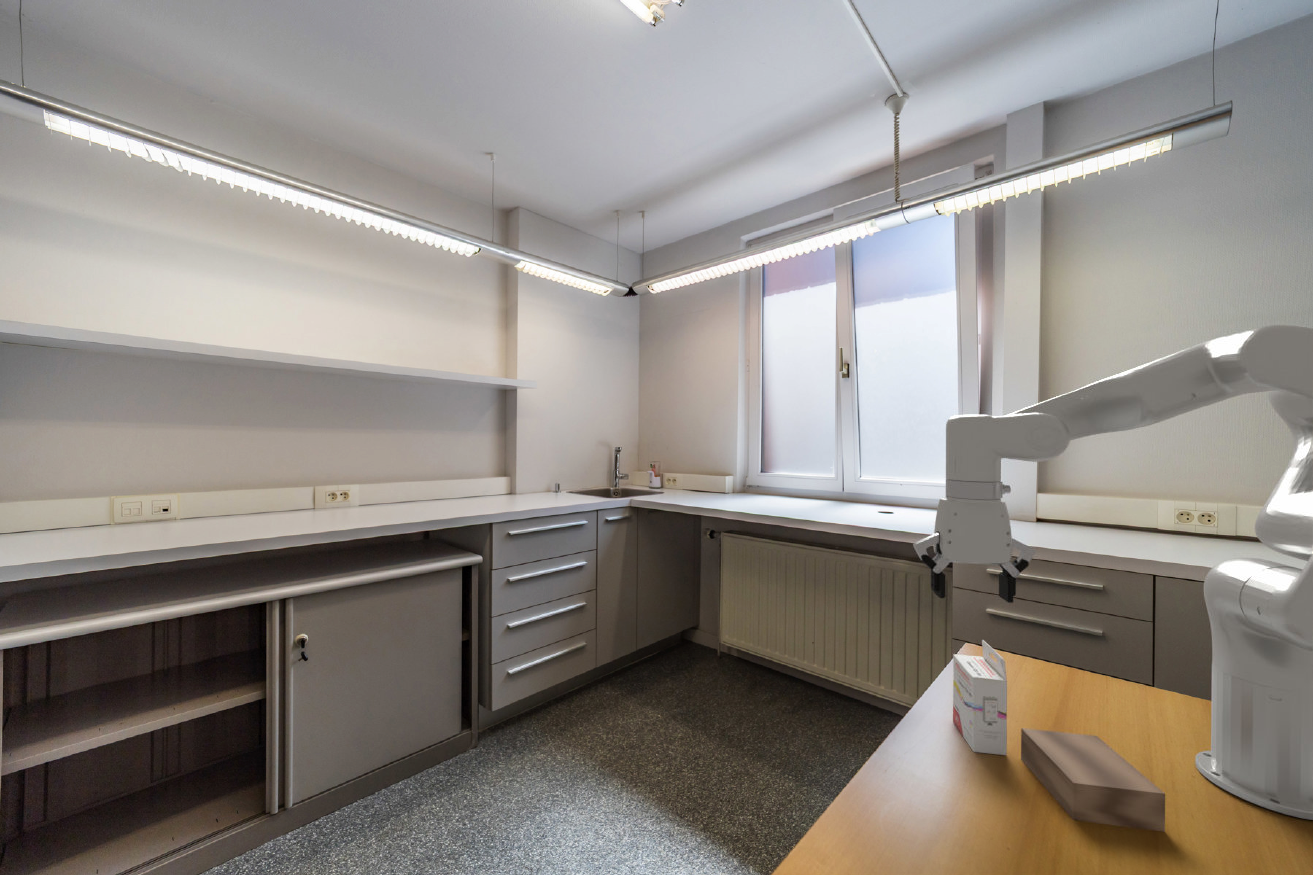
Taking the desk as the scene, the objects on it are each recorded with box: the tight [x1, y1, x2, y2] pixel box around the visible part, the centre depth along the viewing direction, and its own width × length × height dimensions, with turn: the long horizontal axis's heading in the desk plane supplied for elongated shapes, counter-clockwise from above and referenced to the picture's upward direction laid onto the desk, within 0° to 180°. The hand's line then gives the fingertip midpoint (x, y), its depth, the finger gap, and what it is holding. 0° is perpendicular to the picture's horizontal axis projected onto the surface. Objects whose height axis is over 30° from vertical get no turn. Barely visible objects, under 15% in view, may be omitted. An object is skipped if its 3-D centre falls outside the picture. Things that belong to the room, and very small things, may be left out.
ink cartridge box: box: [952, 639, 1008, 756], centre depth 79 cm, size 9×5×15 cm, turn 168°
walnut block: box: [1020, 728, 1166, 832], centre depth 68 cm, size 10×12×5 cm
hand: (972, 597), depth 79 cm, fingers open, 9 cm apart
